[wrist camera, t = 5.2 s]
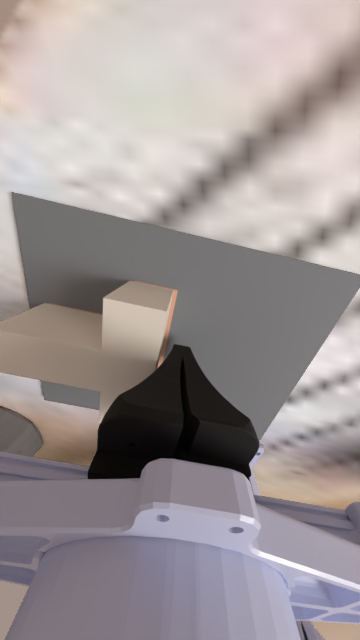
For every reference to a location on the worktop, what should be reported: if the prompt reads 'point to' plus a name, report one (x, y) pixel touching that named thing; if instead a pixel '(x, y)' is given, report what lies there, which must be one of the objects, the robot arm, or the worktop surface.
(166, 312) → the t block
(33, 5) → the worktop surface
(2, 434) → the coffeepot
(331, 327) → the slate mat
